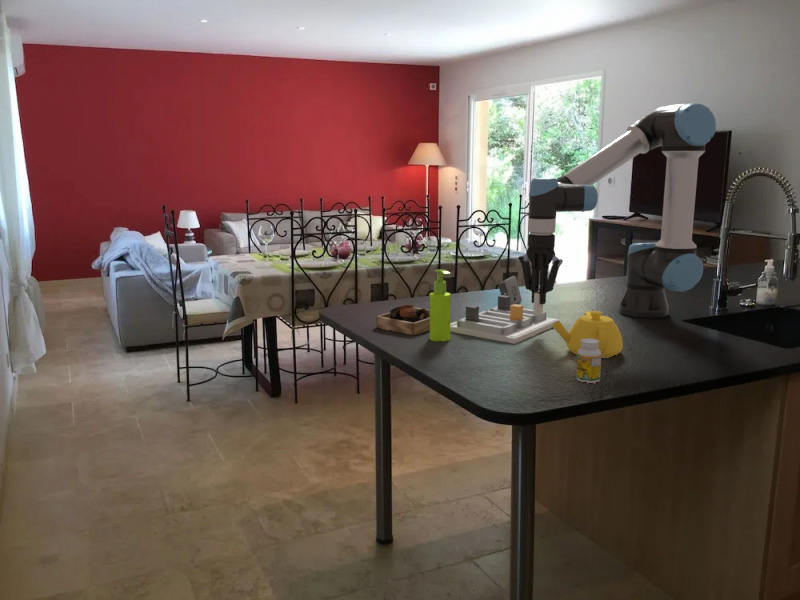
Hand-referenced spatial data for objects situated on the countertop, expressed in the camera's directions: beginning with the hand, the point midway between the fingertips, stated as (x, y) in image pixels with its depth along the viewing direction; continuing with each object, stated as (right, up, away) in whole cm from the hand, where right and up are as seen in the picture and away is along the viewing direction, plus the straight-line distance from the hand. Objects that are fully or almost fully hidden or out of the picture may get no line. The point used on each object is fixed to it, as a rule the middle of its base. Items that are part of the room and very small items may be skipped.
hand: (538, 314), depth 200 cm
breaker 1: (-19, -3, +5) cm, 19 cm away
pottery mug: (-37, -5, +9) cm, 39 cm away
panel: (-9, -4, +9) cm, 13 cm away
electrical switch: (-2, +3, +41) cm, 41 cm away
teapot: (+9, -10, -17) cm, 22 cm away
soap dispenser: (-28, -7, -3) cm, 29 cm away
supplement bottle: (+4, -15, -39) cm, 42 cm away
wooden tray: (-36, -4, +12) cm, 38 cm away
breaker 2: (-7, 0, +18) cm, 20 cm away
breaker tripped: (-5, -3, +5) cm, 8 cm away
